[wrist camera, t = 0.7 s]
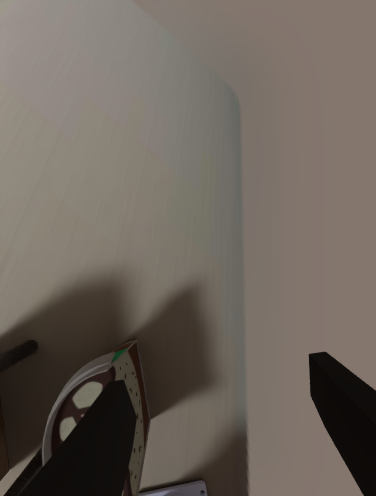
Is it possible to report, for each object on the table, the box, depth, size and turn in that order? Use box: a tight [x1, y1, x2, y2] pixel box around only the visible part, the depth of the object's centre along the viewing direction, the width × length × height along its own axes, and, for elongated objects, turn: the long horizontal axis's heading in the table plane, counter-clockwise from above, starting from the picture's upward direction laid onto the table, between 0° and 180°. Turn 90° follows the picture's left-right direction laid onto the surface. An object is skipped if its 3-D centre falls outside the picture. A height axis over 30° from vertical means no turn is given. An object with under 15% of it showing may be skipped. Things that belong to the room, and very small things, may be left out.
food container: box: [42, 338, 151, 496], centre depth 21 cm, size 12×6×10 cm, turn 10°
